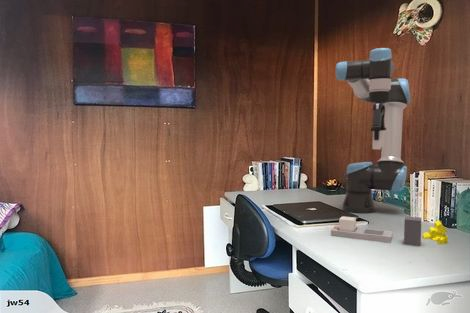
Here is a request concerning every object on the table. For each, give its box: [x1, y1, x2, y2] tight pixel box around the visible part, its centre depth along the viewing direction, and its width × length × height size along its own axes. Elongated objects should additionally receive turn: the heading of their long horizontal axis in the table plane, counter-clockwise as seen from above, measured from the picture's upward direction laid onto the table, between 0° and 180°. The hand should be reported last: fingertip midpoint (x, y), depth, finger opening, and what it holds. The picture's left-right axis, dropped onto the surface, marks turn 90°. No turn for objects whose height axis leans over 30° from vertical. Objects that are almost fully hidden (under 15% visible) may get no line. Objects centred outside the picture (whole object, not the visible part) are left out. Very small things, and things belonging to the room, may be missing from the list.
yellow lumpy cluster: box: [421, 219, 449, 245], centre depth 135 cm, size 6×8×8 cm
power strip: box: [330, 224, 394, 244], centre depth 137 cm, size 8×20×4 cm, turn 63°
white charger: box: [338, 216, 357, 232], centre depth 139 cm, size 5×5×6 cm
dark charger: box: [403, 215, 423, 247], centre depth 129 cm, size 5×5×9 cm
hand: (378, 148), depth 145 cm, fingers open, 13 cm apart
